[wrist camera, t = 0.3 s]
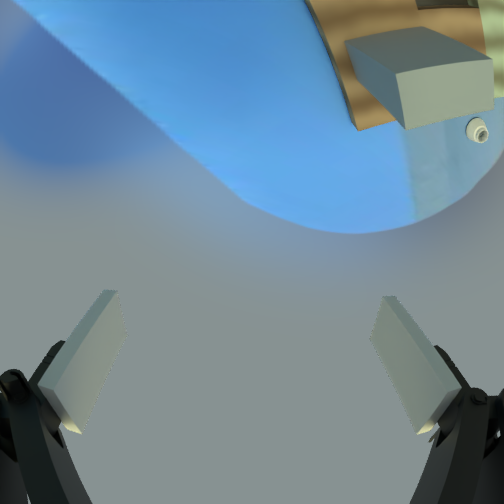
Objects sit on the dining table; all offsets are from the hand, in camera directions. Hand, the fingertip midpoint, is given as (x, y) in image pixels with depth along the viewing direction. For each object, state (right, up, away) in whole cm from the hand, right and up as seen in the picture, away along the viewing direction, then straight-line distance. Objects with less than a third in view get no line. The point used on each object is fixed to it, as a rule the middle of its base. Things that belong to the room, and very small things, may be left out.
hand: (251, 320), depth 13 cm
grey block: (+18, +29, +13) cm, 37 cm away
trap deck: (+26, +34, +12) cm, 44 cm away
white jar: (+41, +26, +24) cm, 54 cm away
